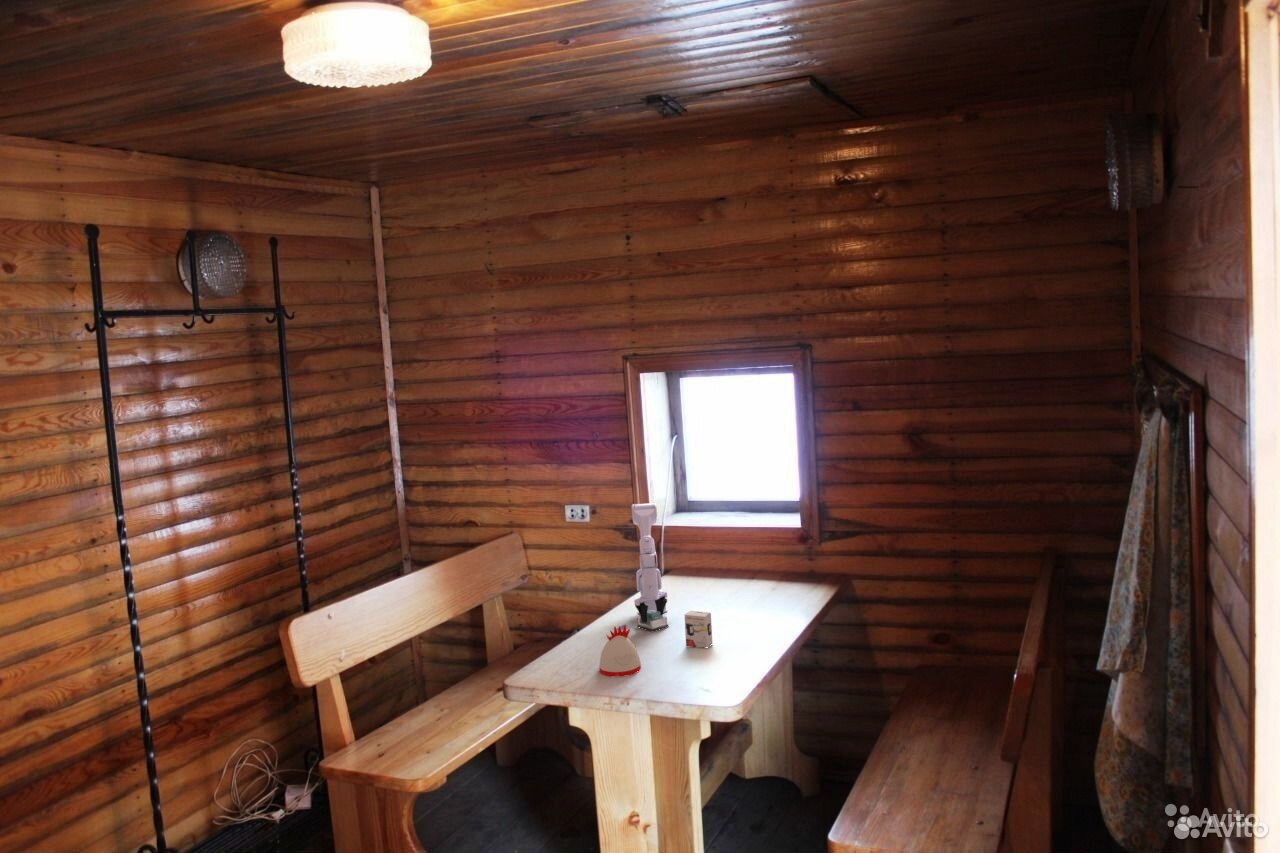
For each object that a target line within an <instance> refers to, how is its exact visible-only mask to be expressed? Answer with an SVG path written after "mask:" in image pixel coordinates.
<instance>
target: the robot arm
mask: <svg viewBox="0 0 1280 853" xmlns="http://www.w3.org/2000/svg"><path fill="white" fill-rule="evenodd" d="M631 517H632V523H633V525H635V526H637V527H638V529H639V531H640V533H639V534H640V539H639V553H640V554H639V567H640V568H639V569H638V570H636V573H635V574H636V576H635V577H636V580H635V581H636V590H637V591H638V592H640V596H639V598H636V599H634V601H633V602H634V605H635V606H634V607H635V608H636V610H637V612H636V613H637V614H638V613H639V614H638V615H639V617H640V616H641V619H642V622H644V623H646V622H647V611H648V610H656V611H659V612H660V615H663V616H664V613H668V610H667V603H668V593H667V592H666V591H664V590H662V588H663V587H662V575H661V570H660V568H658V555H657V552H656V551H657V550H656V546H655V544H656V543H655V539H654V538H653V537H652V532H651V531H652V526H653V525H655V524H656V523H657V518H658V512H657V503H655V502H653V503H652V502H651V503H632V505H631Z"/></svg>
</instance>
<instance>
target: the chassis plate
mask: <svg viewBox="0 0 1280 853" xmlns="http://www.w3.org/2000/svg"><path fill="white" fill-rule="evenodd" d="M636 627H640V628H639V629H641V628H643V629H642V630H644V629H646V630H645V631H647V630H649V631H648V632H651V631H654V632H657V631H660V630H663V629H662V628H664V629H667V628H669V624H668V617H667V616H664V615H663V618H659V619H656V620H651V621H650V624H647V623H644V622H642V619H641V616H640V615H639V616H638V617H637V625H636ZM666 627H667V628H666ZM659 629H660V630H659ZM656 630H657V631H656Z"/></svg>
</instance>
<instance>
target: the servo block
mask: <svg viewBox="0 0 1280 853" xmlns="http://www.w3.org/2000/svg"><path fill="white" fill-rule="evenodd" d="M663 617H664V614H663V615H660V612H659V611H656V610H648V611H647V622H646V623H647V624H650V621H651V620H656V619H659V618H663Z"/></svg>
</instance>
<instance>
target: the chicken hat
mask: <svg viewBox="0 0 1280 853" xmlns="http://www.w3.org/2000/svg"><path fill="white" fill-rule="evenodd" d="M613 628H614V629H613V631H612V630H611V629H610V630H609V633H610V635H611V636H609V635H608V634H607V633H606V634H605V635H606V637H607V641H606V642H605V644H604V646H603V647H602V651H601V655H600V659H599V665H598V667H599V672H600V674H601V675H603V676H606V677H612V676H621V677H626V676H625V675H628V676H631V675H630V674H632V675H634V674H633V673H635V672H637V671H639V670H640V669H642V665H641V659H640V658H641V657H640V656H639V654H638V649H637V648H636V647H637V646H636V645H635V644H634V643H633V642H632V641H631V640H630V639H629V638H628V637H629V634H630V631H631V629H630V627H628V629H627V628H626V625H623V628H622V629H621V626H620V625H618V629H617V627H616V626H614V627H613ZM640 671H641V670H640ZM640 671H639V672H640ZM637 673H638V672H637ZM635 674H636V673H635Z"/></svg>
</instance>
